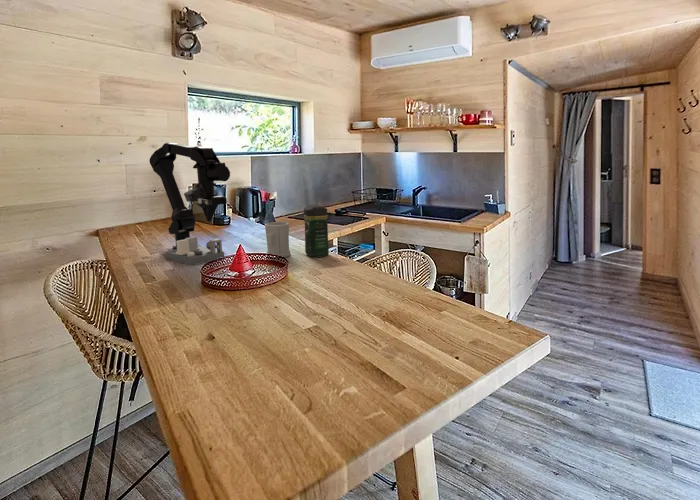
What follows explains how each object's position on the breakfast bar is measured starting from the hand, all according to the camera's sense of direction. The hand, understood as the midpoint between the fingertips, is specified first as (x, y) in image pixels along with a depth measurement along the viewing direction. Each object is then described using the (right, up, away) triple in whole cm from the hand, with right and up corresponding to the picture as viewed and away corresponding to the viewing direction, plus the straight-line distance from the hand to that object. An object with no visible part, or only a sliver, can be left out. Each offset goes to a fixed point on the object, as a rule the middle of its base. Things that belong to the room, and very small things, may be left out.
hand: (209, 221), depth 180 cm
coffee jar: (+42, -13, -7) cm, 45 cm away
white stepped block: (-4, -11, -8) cm, 14 cm away
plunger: (+5, -11, -10) cm, 16 cm away
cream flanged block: (-5, -12, -12) cm, 18 cm away
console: (-3, -14, -8) cm, 16 cm away
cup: (+28, -13, -8) cm, 32 cm away
